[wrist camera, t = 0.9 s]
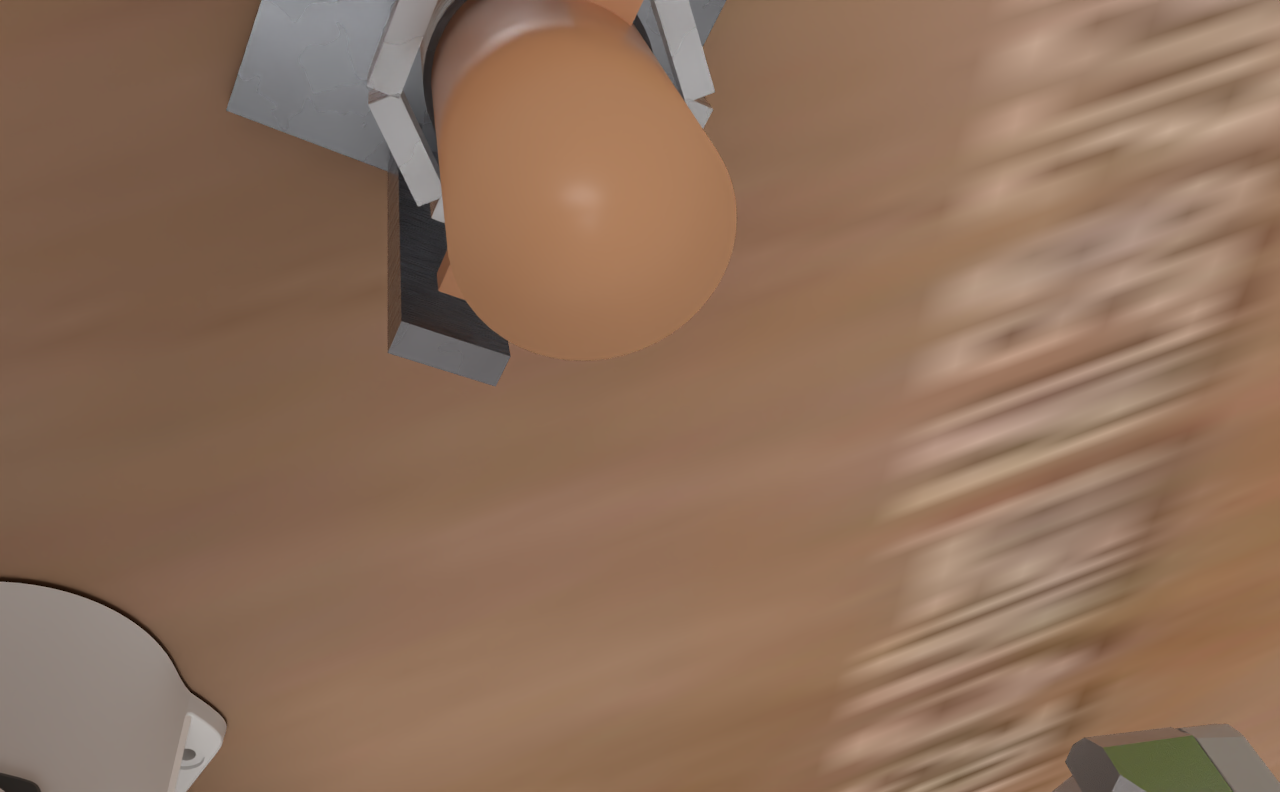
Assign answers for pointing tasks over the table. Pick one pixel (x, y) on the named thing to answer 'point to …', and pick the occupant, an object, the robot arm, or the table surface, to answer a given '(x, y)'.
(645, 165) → the tan rounded piece
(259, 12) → the grey ridged piece
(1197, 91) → the table surface
